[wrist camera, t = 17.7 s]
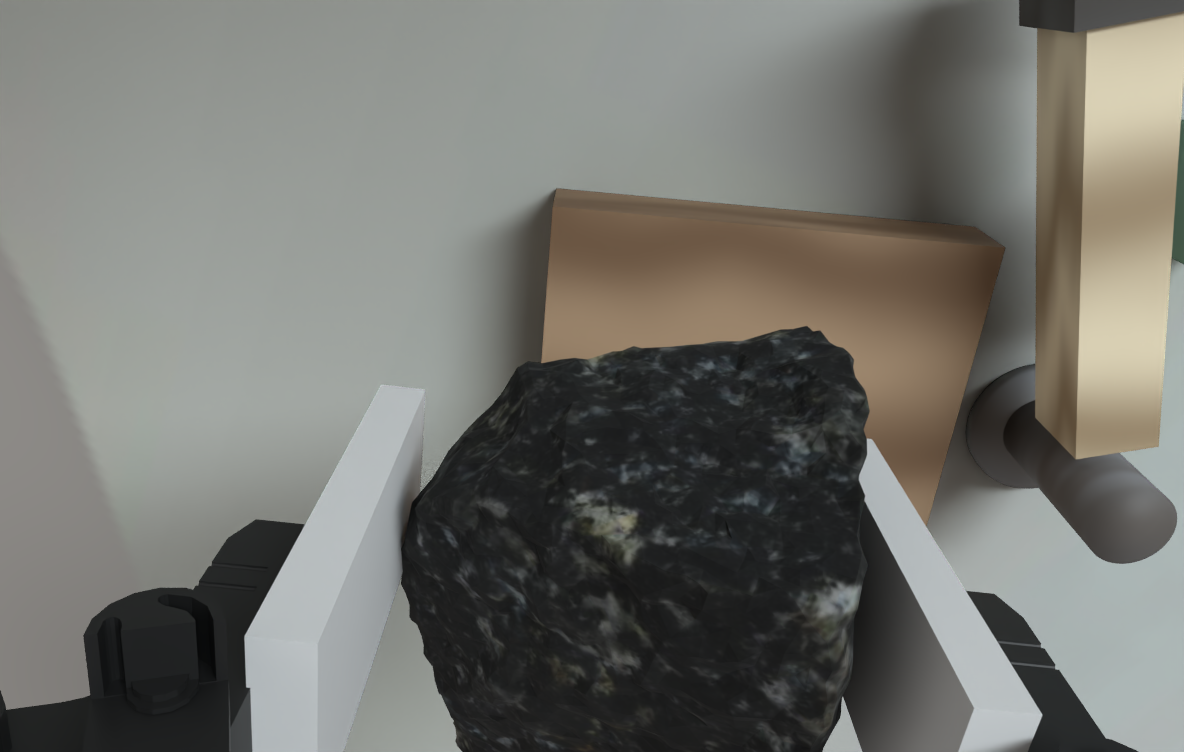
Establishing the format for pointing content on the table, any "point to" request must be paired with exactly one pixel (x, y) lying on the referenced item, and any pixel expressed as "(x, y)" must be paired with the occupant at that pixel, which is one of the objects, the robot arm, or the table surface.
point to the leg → (1104, 215)
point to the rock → (649, 552)
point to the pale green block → (1179, 205)
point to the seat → (839, 334)
